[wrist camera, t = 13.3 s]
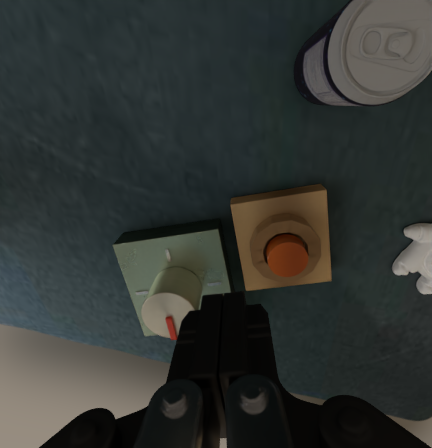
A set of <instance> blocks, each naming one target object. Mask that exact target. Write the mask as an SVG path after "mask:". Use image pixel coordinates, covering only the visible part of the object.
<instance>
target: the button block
mask: <svg viewBox="0 0 432 448" xmlns="http://www.w3.org/2000/svg"><path fill="white" fill-rule="evenodd" d="M230 206H231V212H232V217H233V223H234V228H235V234H236V239H237V245H238V250H239V256H240V261H241V267H242V272H243V277H244V283H245V288H246V291H250V290H258V289H267V288H275V287H284V286H292V285H301V284H309V283H318V282H327V281H331V280H332V279H331V261H330V243H329V225H328V207H327V190H326V189H325V188H324V187H323V186H322V185H321V184H315V185H309V186H303V187H297V188H291V189H285V190H278V191H272V192H266V193H260V194H254V195H247V196H241V197H235V198H231V204H230ZM283 234H289V235H293V236H296V237H297V238H299V239H300V240H301V241H302V243H303V245H304V247H305V249H306V251H307V254H308V264H307V266H306V268H305V269H304V270H303V271H302V272H301V273H300V274H298V275H296V276H293V277H282V276H279V275H276V274H275V273H274V272H272V270H271V269H270V268H269V265H268V261H267V255H266V249H267V246H268V244H269V242H270V241H271V240H272V239H273V238H275V237H277V236H279V235H283Z"/></svg>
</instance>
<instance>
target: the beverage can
mask: <svg viewBox="0 0 432 448" xmlns="http://www.w3.org/2000/svg"><path fill="white" fill-rule="evenodd" d="M431 71H432V0H351V1H349V2H348V3H347V4H346V5H345V6H344V7H343V8H342V9H341V10H340V11H339V12H337V13H336V14H335V15H334V16H333V17H332V18H331V19H330V20H329V21H328V22H327V23H325V24H324V25H323V26H322V27H321V28H320V29H319V30H318V31H317V32H316V33H315V34H314V35H312V36H311V37H310V38H309V39H308V40H307V41H306V42H305V43H304V45H303V46H302V48H301V49H300V51H299V53H298V55H297V58H296V61H295V65H294V79H295V83H296V86H297V88H298V90H299V92H300V93H301V95H302V96H303V97H304V98H305V99H307V100H308V101H310V102H312V103H314V104H318V105H341V106H379V105H384V104H387V103H390V102H392V101H395V100H397V99H399V98H400V97H402V96H404V95H405V94H406V93H408V92H409V91H410V90H411V89H413V88H414V87H415V86H417V85H418V84H419V83H420V82H422V81H423V80H424V79H425V78H426V77H427V75H428V74H429V73H430V72H431Z"/></svg>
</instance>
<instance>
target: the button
mask: <svg viewBox="0 0 432 448" xmlns="http://www.w3.org/2000/svg"><path fill="white" fill-rule="evenodd" d="M266 255H267V261H268V265H269V268H270V269H271V270H272V272H274V273H275V274H276V275H279V276H282V277H293V276H296V275H298V274H300V273H301V272H302V271H303V270H304V269H305V268H306V266H307V264H308V254H307V251H306V249H305V247H304V245H303V243H302V241H301V240H300V239H299V238H297V237H296V236H293V235H289V234H283V235H279V236H277V237H275V238H273V239H272V240H271V241H270V242H269V244H268V246H267V249H266Z"/></svg>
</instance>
